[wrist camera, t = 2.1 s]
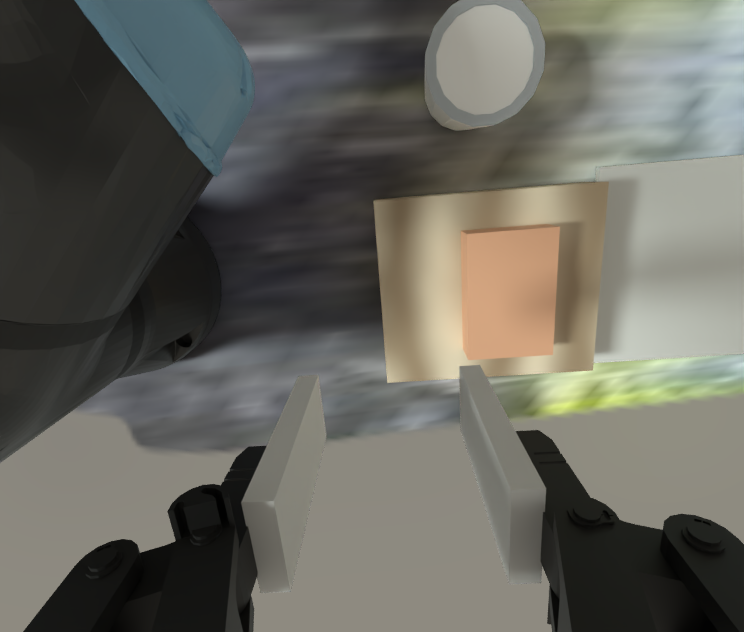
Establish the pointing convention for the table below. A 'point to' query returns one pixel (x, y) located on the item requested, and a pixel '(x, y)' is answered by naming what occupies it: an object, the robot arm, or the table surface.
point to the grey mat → (672, 260)
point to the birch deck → (444, 281)
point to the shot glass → (482, 63)
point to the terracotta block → (509, 291)
